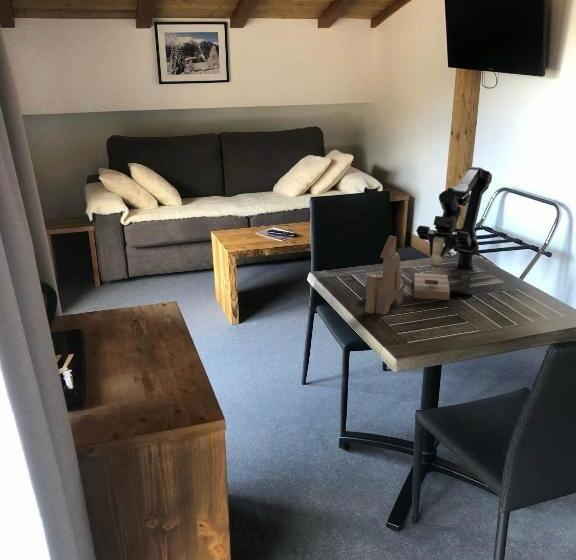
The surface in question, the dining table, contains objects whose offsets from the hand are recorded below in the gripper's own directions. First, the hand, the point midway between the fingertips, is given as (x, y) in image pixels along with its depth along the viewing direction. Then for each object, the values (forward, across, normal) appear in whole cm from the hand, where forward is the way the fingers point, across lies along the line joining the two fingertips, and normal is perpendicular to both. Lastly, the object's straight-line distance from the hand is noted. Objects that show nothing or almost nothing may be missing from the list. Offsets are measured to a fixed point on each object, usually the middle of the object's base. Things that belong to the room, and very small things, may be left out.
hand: (435, 256), depth 202 cm
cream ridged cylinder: (+4, 0, +6) cm, 7 cm away
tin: (+20, -12, 0) cm, 23 cm away
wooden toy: (+26, -8, -7) cm, 28 cm away
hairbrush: (+2, +7, +18) cm, 20 cm away
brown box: (+8, -1, +11) cm, 14 cm away
